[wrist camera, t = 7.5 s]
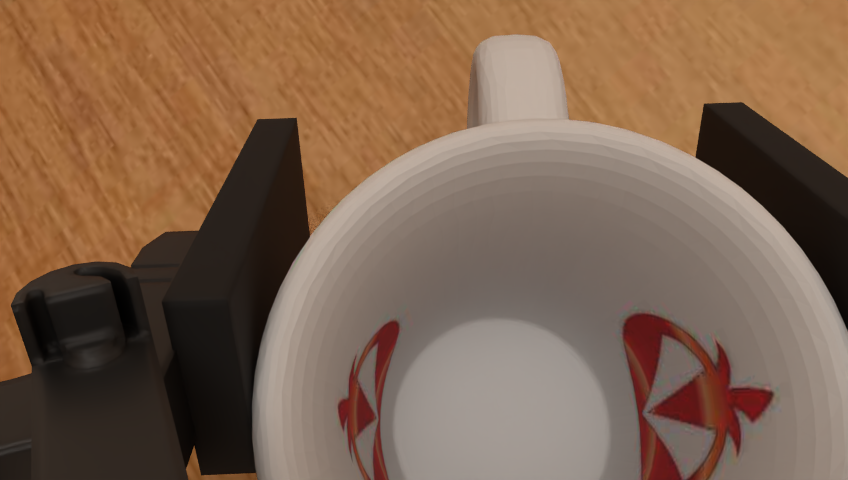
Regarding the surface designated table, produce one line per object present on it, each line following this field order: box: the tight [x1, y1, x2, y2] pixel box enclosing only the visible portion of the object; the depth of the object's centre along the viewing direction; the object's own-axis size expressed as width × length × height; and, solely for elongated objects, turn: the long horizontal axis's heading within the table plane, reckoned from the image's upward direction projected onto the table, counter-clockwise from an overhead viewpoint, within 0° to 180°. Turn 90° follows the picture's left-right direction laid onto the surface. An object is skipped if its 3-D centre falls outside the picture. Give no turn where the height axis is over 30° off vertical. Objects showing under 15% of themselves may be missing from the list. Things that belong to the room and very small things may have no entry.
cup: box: [252, 35, 848, 480], centre depth 13 cm, size 11×8×8 cm
